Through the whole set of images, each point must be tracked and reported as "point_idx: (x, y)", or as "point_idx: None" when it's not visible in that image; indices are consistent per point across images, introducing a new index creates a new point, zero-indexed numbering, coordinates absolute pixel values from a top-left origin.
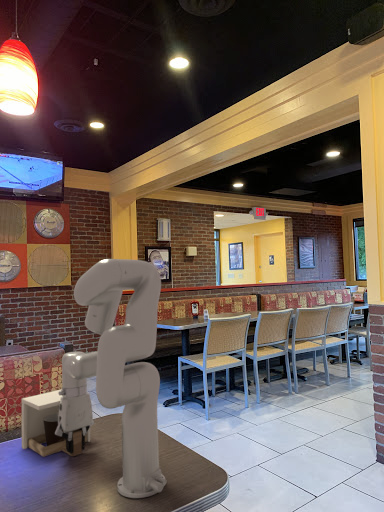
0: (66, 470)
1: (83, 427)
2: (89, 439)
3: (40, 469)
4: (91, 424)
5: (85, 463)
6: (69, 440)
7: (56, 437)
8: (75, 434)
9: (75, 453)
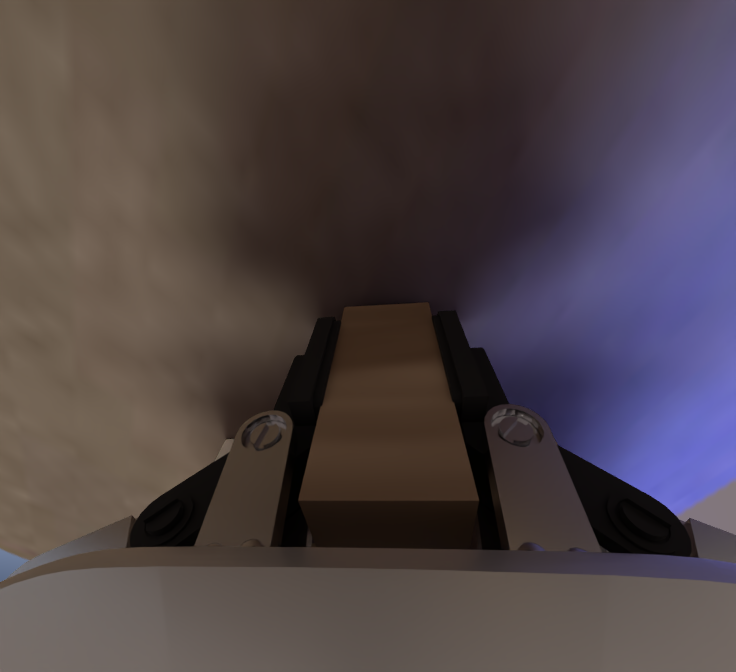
0: (650, 58)
1: (245, 546)
2: (227, 449)
3: (715, 297)
4: (81, 553)
5: (406, 69)
6: (512, 413)
7: (473, 545)
8: (421, 465)
9: (407, 312)
